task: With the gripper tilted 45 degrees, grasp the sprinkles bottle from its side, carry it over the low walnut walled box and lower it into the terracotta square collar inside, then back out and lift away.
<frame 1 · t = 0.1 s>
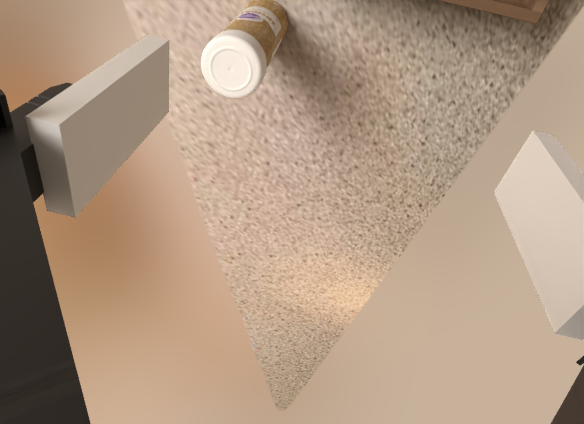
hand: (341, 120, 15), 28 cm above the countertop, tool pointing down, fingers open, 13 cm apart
sprinkles bottle: (265, 22, 40), on the countertop
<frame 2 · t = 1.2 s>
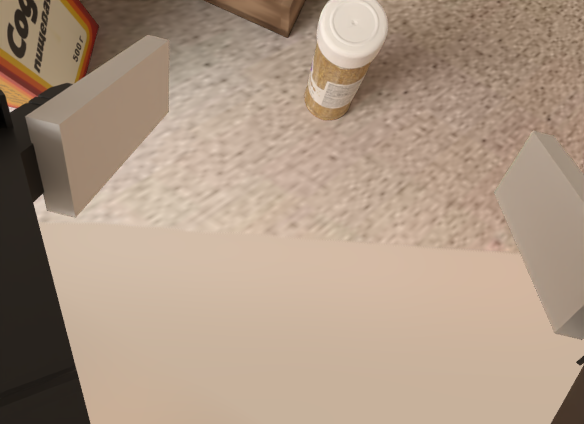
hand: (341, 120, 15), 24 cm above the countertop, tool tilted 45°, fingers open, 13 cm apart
baking soda box: (53, 66, 39), on the countertop
sprinkles bottle: (327, 100, 40), on the countertop
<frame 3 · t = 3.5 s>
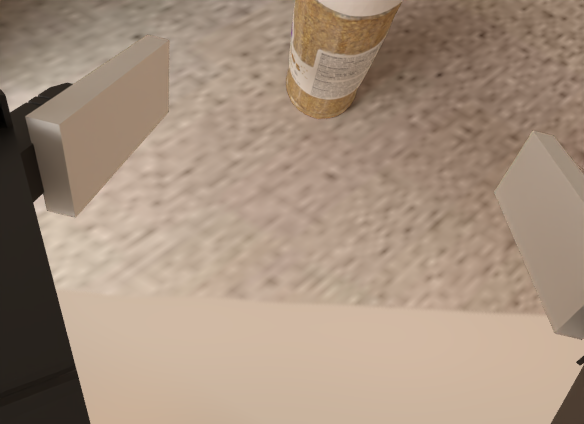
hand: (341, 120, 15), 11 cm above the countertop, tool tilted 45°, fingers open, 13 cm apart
sprinkles bottle: (321, 88, 26), on the countertop
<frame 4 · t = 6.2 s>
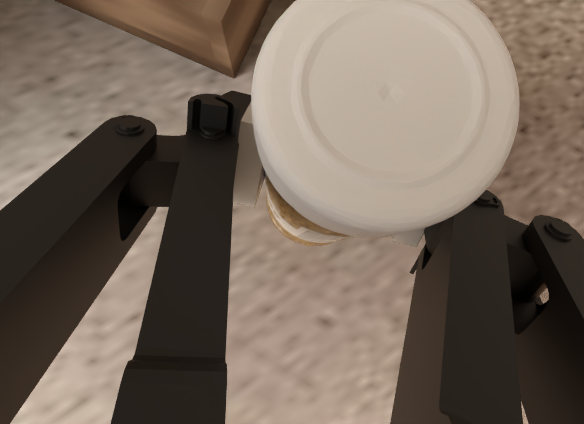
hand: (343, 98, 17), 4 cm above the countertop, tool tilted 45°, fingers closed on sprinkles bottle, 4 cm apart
sprinkles bottle: (313, 201, 20), on the countertop, touching gripper
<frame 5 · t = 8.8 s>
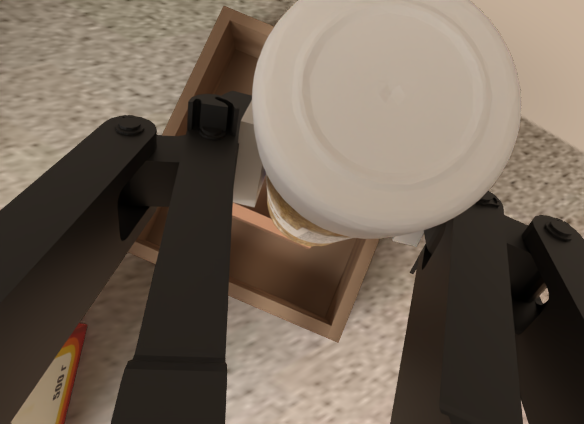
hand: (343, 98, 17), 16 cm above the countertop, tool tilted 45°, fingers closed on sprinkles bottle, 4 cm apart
baking soda box: (30, 380, 31), on the countertop
walled box: (278, 181, 32), on the countertop
sprinkles bottle: (313, 201, 20), point 12 cm above the countertop, touching gripper
inlet collar: (278, 174, 30), in the walled box, point 2 cm above the countertop
when the fingers open (6 cm above the countertop, at t = 11.7 s): sprinkles bottle drops 1 cm, resting on walled box.
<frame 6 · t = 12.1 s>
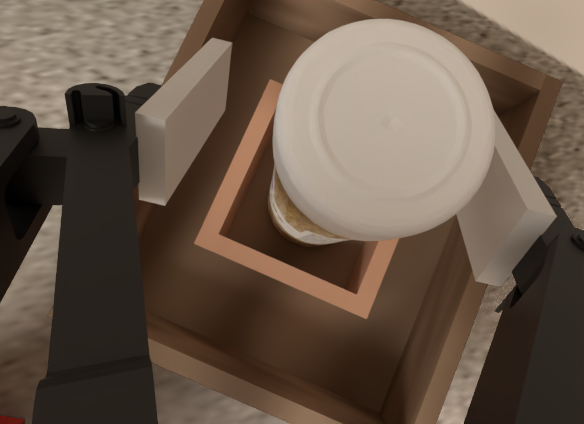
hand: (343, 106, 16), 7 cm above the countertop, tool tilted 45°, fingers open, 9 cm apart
walled box: (309, 206, 22), on the countertop
sprinkles bottle: (310, 205, 22), point 1 cm above the countertop, touching walled box
inlet collar: (313, 200, 20), in the walled box, point 2 cm above the countertop
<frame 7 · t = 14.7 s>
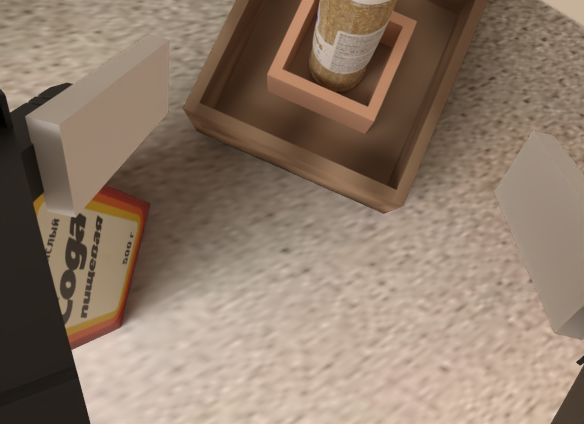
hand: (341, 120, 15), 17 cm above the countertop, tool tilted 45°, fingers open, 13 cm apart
baking soda box: (93, 256, 31), on the countertop
walled box: (335, 72, 33), on the countertop
sprinkles bottle: (336, 68, 33), point 1 cm above the countertop, touching walled box
inlet collar: (340, 57, 31), in the walled box, point 2 cm above the countertop
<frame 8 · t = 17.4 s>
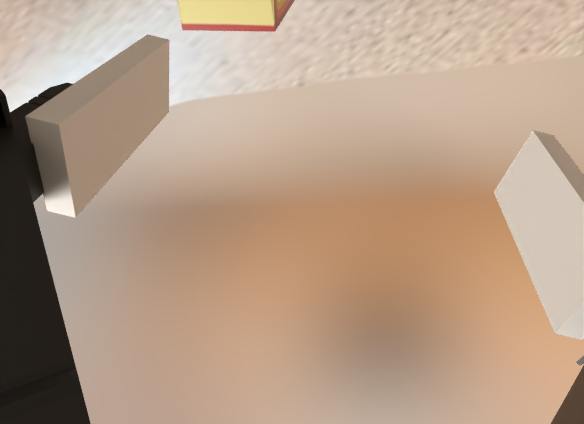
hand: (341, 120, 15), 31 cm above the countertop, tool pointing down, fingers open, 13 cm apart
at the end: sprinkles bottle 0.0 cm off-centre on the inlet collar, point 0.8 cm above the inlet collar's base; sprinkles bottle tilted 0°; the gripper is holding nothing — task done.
